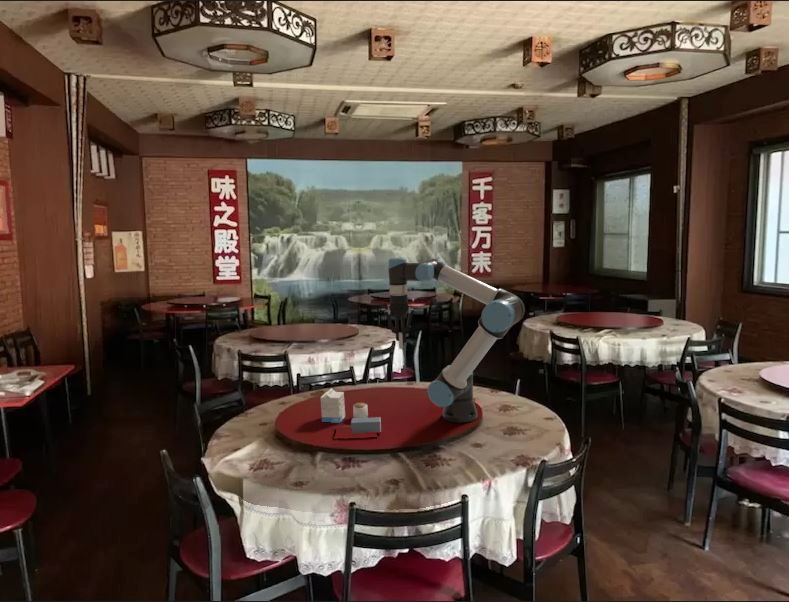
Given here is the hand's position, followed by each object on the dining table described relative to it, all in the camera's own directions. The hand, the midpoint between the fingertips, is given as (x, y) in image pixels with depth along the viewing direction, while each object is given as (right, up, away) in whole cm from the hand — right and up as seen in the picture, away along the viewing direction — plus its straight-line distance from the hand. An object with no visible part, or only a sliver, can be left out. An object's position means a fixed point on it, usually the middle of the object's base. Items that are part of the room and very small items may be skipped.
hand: (400, 348), depth 254 cm
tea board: (-19, -35, -7) cm, 40 cm away
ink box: (-30, -33, +9) cm, 45 cm away
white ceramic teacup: (-18, -32, +9) cm, 38 cm away
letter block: (-9, -32, -8) cm, 34 cm away
